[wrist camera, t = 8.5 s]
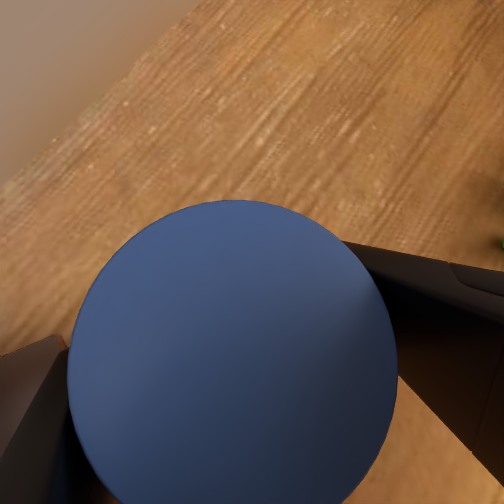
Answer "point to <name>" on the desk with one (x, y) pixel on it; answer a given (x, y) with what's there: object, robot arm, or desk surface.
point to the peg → (232, 362)
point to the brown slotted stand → (23, 382)
